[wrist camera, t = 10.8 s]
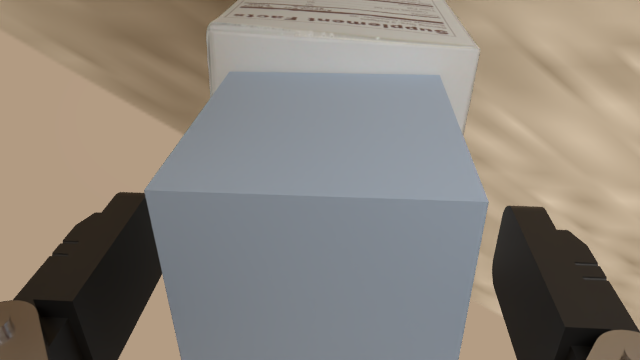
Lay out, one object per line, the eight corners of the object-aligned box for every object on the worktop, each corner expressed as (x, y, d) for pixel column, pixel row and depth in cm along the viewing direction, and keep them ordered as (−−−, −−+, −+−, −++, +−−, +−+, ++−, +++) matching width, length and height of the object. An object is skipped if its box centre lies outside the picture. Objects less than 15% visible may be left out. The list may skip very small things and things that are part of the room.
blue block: (229, 71, 13) (143, 190, 8) (439, 75, 13) (488, 201, 8) (246, 237, 16) (191, 404, 11) (420, 244, 16) (446, 420, 11)
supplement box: (408, 117, 27) (437, 273, 16) (271, 105, 27) (211, 252, 17) (432, -30, 23) (491, 47, 12) (273, -42, 24) (196, 23, 13)
